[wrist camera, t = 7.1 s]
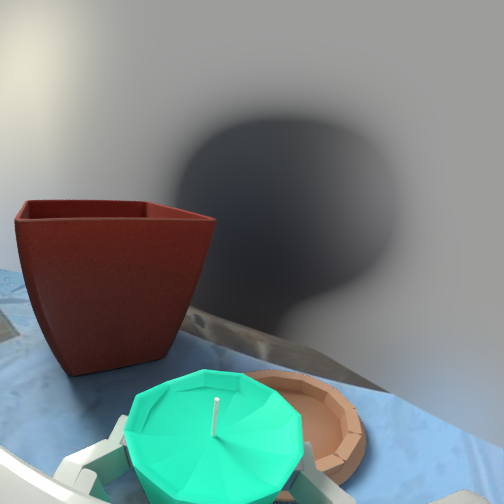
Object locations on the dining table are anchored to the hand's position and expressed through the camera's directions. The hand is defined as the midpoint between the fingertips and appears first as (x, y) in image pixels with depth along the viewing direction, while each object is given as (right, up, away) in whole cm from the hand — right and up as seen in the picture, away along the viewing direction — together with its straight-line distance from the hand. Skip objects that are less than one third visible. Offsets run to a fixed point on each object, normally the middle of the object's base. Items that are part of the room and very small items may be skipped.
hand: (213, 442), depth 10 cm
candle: (-1, -8, +2) cm, 8 cm away
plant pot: (-17, -4, +22) cm, 28 cm away
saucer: (+4, -8, +12) cm, 15 cm away
